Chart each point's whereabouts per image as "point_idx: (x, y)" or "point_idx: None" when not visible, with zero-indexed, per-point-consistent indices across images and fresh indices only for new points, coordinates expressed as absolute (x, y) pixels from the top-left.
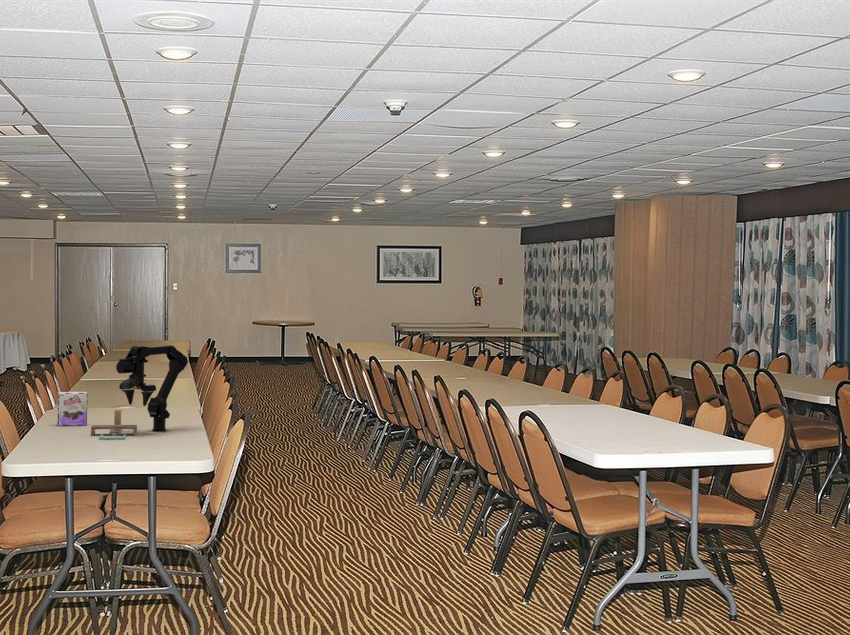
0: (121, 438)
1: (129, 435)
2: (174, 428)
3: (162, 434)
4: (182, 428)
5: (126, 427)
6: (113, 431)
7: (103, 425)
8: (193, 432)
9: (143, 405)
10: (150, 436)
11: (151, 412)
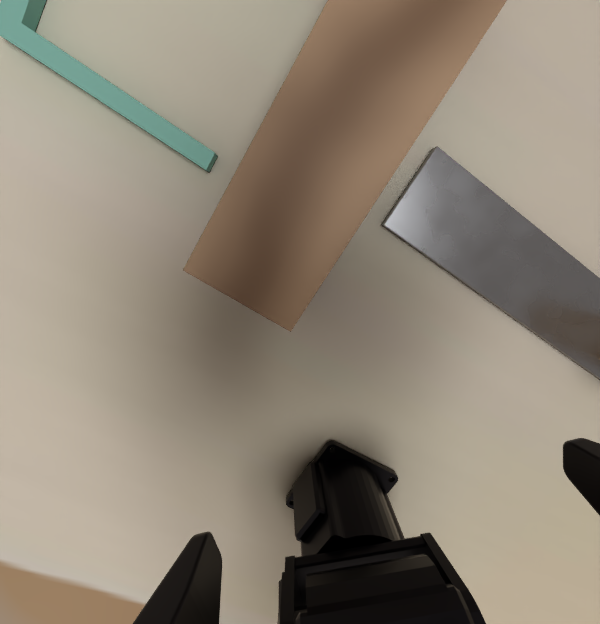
0: (6, 4)
1: None
2: None
3: (170, 428)
4: None
5: (229, 186)
6: None
7: (442, 6)
8: None
9: (201, 540)
10: (112, 322)
11: (382, 568)
